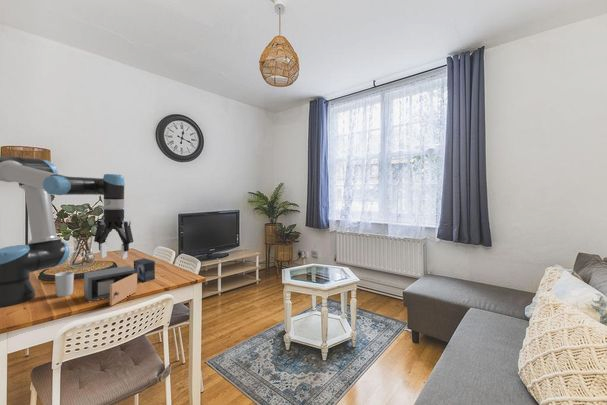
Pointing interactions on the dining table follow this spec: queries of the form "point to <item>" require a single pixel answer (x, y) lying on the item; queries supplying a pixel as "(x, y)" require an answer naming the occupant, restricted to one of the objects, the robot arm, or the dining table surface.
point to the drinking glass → (64, 283)
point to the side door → (123, 288)
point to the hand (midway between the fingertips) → (113, 257)
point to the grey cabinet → (103, 281)
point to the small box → (144, 269)
